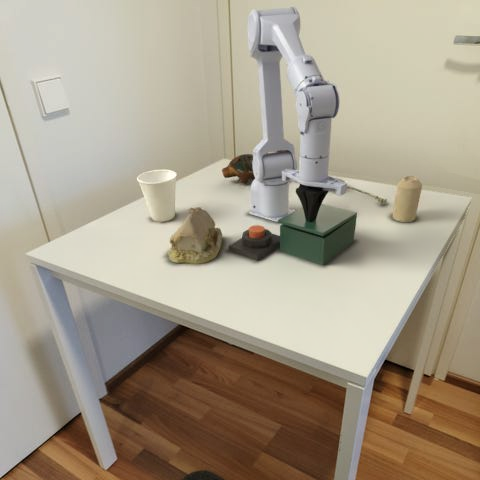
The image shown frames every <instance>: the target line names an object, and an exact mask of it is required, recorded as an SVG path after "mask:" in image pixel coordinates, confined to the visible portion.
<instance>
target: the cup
mask: <svg viewBox="0 0 480 480" xmlns="http://www.w3.org/2000/svg"><path fill="white" fill-rule="evenodd" d="M177 176H178V173H177V172H176V171H174V170H172V169H171V170H170V169H154V170H148V171H145V172H142V173H140V174H139V175H138V176H137V177H136V180H137V182H138V184H139V186H140V189H141V192H142V194H143V197H144V201H145V203H146V206H147V209H148V212H149V215H150V218H151V219H152V220H153V221H155V222H157V223H158V222H159V223H163V222H169V221H171V220H173V219H174V218H175V216H176V190H177Z"/></svg>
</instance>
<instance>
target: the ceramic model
mask: <svg viewBox="0 0 480 480" xmlns="http://www.w3.org/2000/svg"><path fill="white" fill-rule="evenodd" d="M222 232H223V231H222V230H221V228H220V227H216V222H215V220H214V219H213V217H212V216H211V215H210V213H209V212H208V211H207V210H205V209H203V208H202V207H201V206H196V207H191V208H189V210H188V215H187V217H186V218H185V220H183V223H182V224H181V225H180V226H179V227H178V228H177V230H176V231H175V232H174V233H173V234H172V235H171V236H170V238H169V243H170V244H171V245H170V246H171V247H170V249H168V252H167V256H168V258H169V260H170V261H171V262H172V263H176V264H177V263H178V264H179V263H184V264H185V263H187V264H200V265H201V264H204V263H207V262H209V261H212V260H213V259H215V258H216V257H217V256H218V253H219V252H220V249H221V247H222V244H223V233H222Z"/></svg>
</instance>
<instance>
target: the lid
mask: <svg viewBox="0 0 480 480" xmlns="http://www.w3.org/2000/svg"><path fill="white" fill-rule="evenodd" d="M355 216H357V217H358V212H357V211H354V210H349V209H345V208H341V207H337V206H333V205H330V204H325V203H322V204H321V206H320V209H319V211H318V215H317V218H316V220H314V221H312V222H308V221H306V219H305V214H304V210H303V207H301V208H299V209H296V210H295V212H293V213H291V214H289V215H287V216H285V217H283V218H281V219H279V220H278V222H277V224H280V225H282V224H283V225H287V226H290V227H294V228H297V229H300V230H304V231H307V232H311V233H314V234H317V235H321V236H324V235H326V234H327V233H329V232H330V231H332V230H334V229H335V228H337V227H339V226H340V225H342V224H344V223H345V222H347V221H348V220H350V219H352V218H353V217H355Z"/></svg>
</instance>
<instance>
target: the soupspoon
mask: <svg viewBox="0 0 480 480" xmlns="http://www.w3.org/2000/svg"><path fill="white" fill-rule="evenodd" d="M334 178H335V179H337V180H339V181H341V182H344V183H346V181H345V180H343V179H341V178H338V177H334ZM347 189H350V190H353V191H356V192H359V193H362V194H364V195H367V196H369V197H372V198H374V200H377V201H378V202H379V203H381V205H382V206H384V205H386V203H387V202H388V201H387V198H382V197H380V196H378V195H375V194H372V193H371V192H367V191H365V190H363V189H359V188H356V187H353V186H350V185H347Z"/></svg>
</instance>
